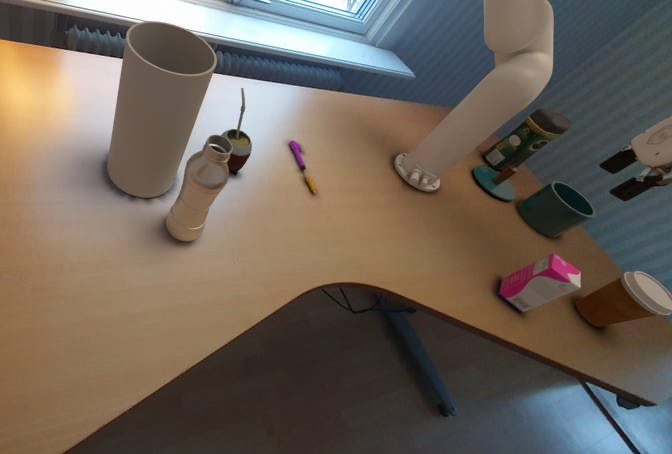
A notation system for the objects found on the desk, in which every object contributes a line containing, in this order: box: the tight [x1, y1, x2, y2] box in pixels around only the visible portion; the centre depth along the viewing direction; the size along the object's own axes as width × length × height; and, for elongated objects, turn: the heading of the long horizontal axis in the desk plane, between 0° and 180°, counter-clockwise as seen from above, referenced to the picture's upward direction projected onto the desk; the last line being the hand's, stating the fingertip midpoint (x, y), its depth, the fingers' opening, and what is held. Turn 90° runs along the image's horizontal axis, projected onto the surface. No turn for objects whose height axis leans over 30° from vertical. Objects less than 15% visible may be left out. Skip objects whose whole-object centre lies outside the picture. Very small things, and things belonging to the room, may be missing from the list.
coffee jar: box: [483, 107, 572, 172], centre depth 106 cm, size 10×8×19 cm
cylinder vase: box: [106, 20, 218, 199], centre depth 59 cm, size 12×12×25 cm
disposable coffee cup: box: [575, 270, 672, 328], centre depth 78 cm, size 10×10×12 cm
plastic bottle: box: [165, 134, 233, 242], centre depth 56 cm, size 6×7×20 cm
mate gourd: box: [220, 87, 253, 177], centre depth 71 cm, size 8×8×15 cm
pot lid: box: [472, 165, 519, 202], centre depth 102 cm, size 13×13×7 cm
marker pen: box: [289, 140, 318, 195], centre depth 84 cm, size 3×1×16 cm
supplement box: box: [496, 252, 582, 314], centre depth 74 cm, size 6×6×12 cm
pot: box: [517, 180, 597, 238], centre depth 97 cm, size 12×12×9 cm
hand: (611, 182), depth 71 cm, fingers open, 9 cm apart
